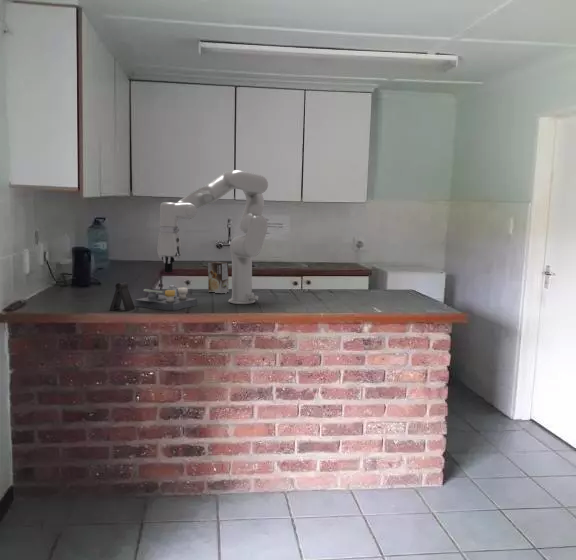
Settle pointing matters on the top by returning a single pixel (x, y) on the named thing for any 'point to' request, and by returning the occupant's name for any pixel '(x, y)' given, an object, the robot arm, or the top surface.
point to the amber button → (169, 296)
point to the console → (164, 302)
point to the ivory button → (182, 293)
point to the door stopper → (122, 298)
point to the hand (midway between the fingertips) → (168, 272)
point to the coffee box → (218, 277)
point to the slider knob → (172, 287)
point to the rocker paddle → (153, 291)
